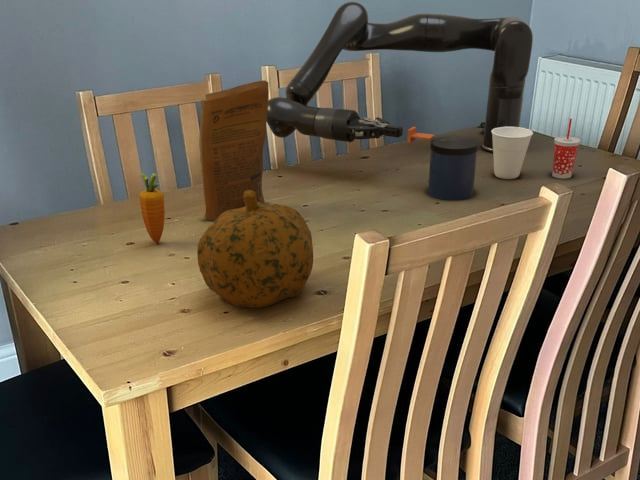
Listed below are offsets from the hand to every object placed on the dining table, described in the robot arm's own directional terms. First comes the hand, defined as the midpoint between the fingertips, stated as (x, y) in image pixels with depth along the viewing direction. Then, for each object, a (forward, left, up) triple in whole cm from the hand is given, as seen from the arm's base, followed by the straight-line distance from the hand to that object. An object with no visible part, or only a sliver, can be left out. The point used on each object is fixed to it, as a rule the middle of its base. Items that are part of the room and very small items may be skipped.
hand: (401, 132), depth 189 cm
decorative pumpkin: (+68, -9, -13) cm, 70 cm away
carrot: (+52, -39, -13) cm, 66 cm away
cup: (-15, +24, -13) cm, 31 cm away
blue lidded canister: (+2, +13, -13) cm, 19 cm away
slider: (+1, +5, -2) cm, 5 cm away
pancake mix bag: (+30, -30, -13) cm, 44 cm away
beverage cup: (-19, +37, -13) cm, 44 cm away
